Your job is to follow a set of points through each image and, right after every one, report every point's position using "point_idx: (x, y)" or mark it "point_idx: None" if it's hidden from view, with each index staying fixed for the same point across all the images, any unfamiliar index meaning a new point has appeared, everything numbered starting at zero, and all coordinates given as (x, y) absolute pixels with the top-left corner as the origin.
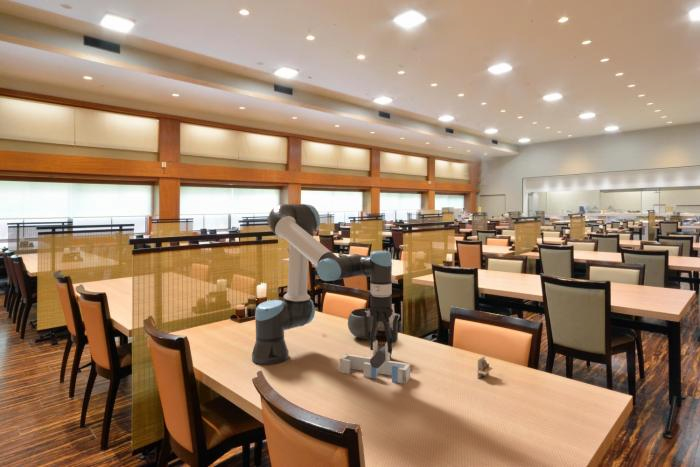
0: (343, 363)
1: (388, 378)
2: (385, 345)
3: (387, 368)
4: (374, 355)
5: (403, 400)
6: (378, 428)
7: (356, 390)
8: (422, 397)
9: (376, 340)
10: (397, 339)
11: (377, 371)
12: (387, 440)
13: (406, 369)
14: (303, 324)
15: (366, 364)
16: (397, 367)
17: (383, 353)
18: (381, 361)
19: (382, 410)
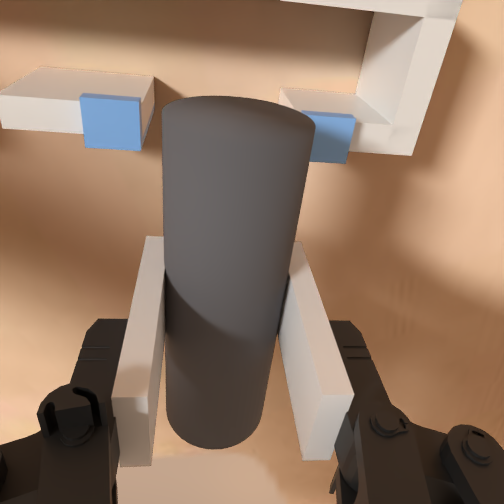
0: None
1: (240, 63)
2: (301, 441)
3: None
4: (193, 421)
5: (364, 298)
6: (295, 453)
7: (109, 288)
8: (459, 245)
9: (134, 404)
10: (499, 453)
11: (148, 89)
12: (329, 477)
13: (419, 124)
14: None
15: (36, 128)
16: (347, 153)
17: (260, 351)
18: (263, 403)
19: (286, 383)
